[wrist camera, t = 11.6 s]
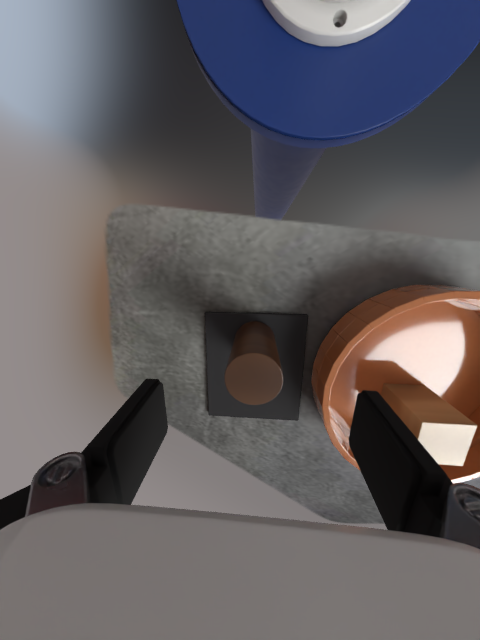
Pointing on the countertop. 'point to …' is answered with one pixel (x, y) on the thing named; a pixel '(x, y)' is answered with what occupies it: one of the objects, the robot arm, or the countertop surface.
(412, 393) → the birch block
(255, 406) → the mat
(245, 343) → the walnut cylinder
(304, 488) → the countertop surface
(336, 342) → the pan
